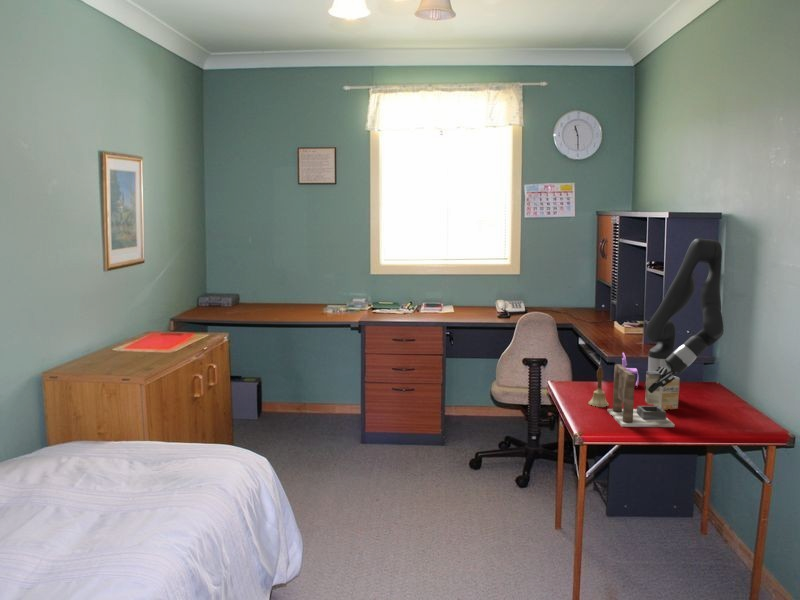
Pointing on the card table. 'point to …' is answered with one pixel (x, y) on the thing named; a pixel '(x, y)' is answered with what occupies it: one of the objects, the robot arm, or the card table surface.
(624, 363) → the toy chair
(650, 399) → the rail post
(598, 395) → the hand bell
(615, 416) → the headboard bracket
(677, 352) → the robot arm
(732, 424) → the card table surface
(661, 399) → the supplement box
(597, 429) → the card table surface
